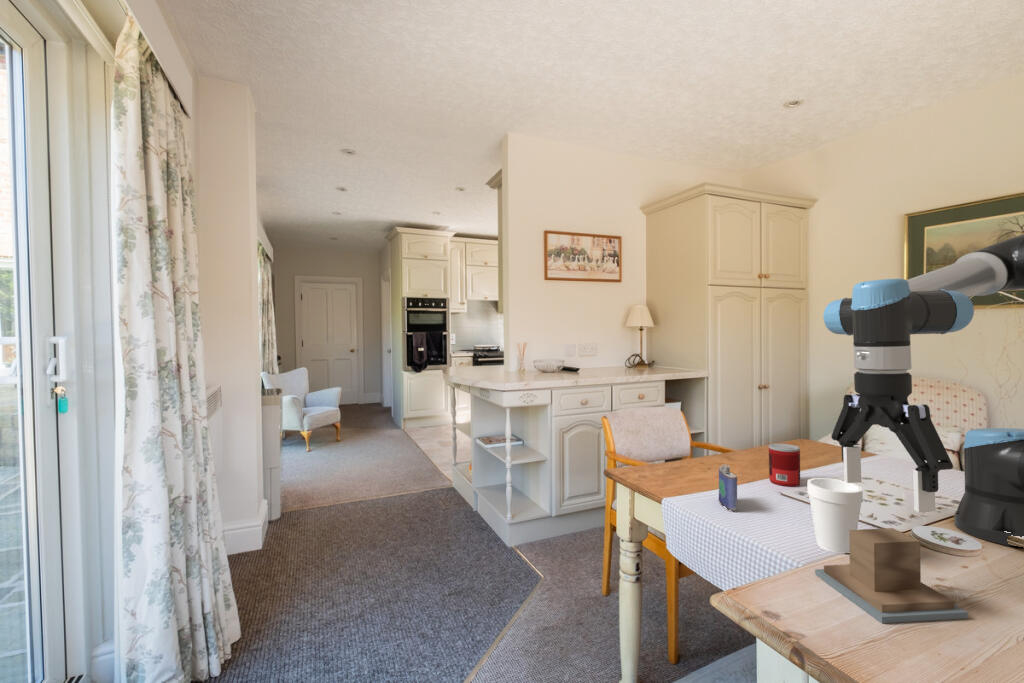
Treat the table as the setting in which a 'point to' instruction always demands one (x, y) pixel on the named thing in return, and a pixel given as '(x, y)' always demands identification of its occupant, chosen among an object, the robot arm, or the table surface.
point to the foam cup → (834, 512)
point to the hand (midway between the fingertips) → (885, 495)
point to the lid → (887, 572)
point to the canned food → (784, 465)
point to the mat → (893, 616)
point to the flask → (727, 488)
